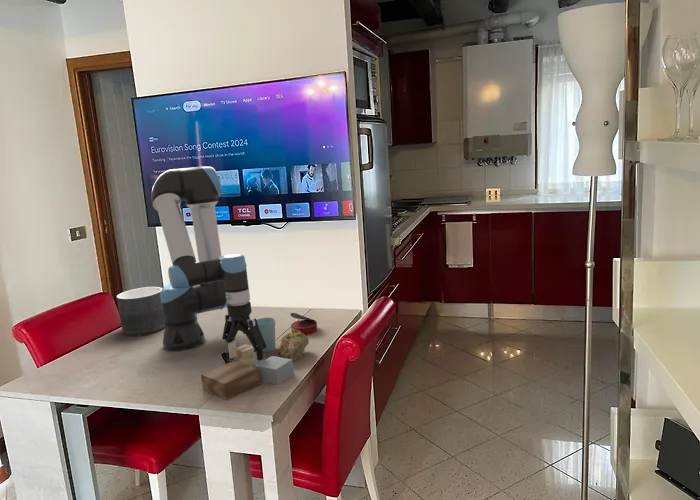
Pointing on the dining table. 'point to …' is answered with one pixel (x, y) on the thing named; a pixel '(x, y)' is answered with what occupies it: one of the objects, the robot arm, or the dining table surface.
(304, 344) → the rock
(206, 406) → the dining table surface
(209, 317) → the dining table surface
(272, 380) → the slate block
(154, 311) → the planter
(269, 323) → the cup
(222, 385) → the walnut pedestal
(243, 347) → the oak block
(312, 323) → the canned food
